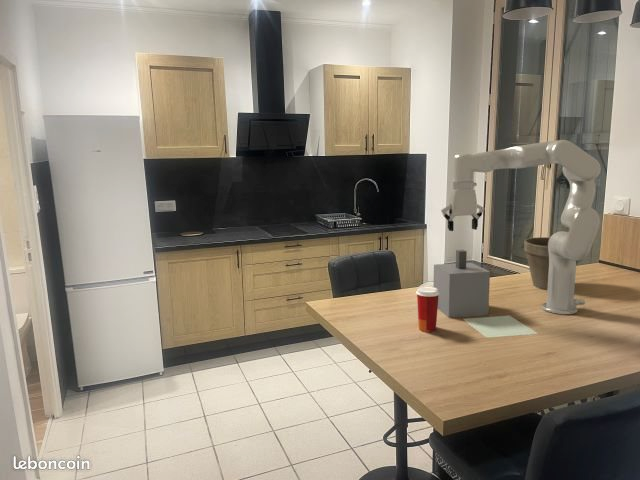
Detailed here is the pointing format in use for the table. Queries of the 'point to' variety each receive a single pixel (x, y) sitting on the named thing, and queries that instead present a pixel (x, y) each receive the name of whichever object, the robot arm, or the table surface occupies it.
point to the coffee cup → (427, 308)
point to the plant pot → (538, 260)
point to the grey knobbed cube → (462, 288)
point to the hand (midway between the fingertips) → (462, 229)
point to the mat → (499, 326)
